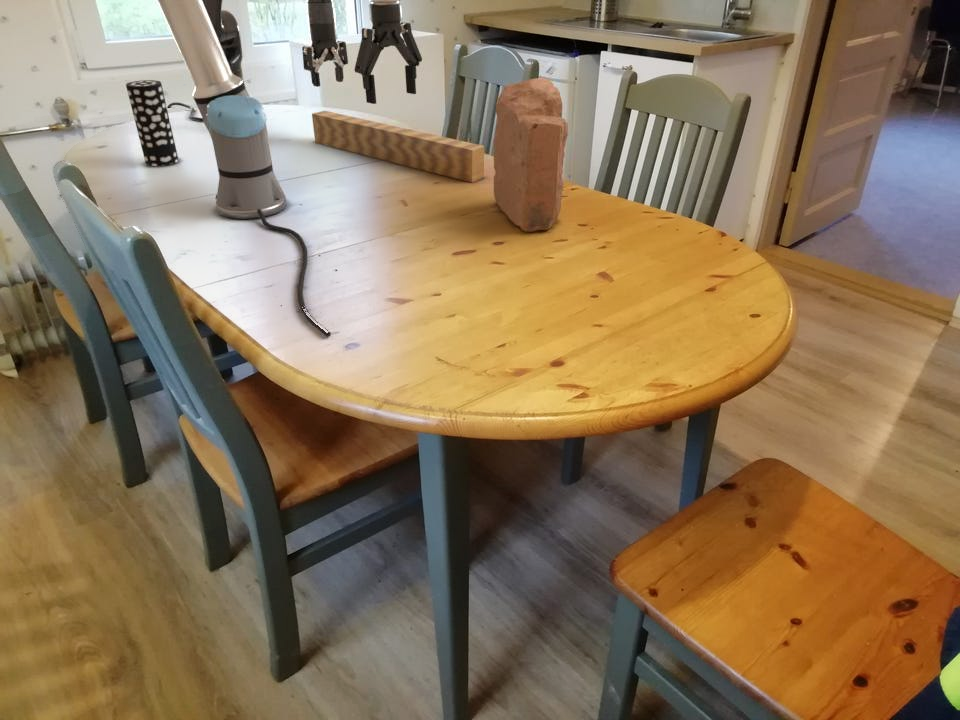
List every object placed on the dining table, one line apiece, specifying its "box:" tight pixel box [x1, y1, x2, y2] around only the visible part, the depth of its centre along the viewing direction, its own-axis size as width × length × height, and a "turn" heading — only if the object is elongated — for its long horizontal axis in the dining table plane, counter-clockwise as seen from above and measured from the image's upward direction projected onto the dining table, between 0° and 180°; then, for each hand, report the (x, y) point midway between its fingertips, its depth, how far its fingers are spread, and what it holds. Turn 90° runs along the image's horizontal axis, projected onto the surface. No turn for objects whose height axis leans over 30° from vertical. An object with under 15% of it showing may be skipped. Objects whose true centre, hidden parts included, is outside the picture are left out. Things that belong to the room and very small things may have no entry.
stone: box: [493, 77, 569, 232], centre depth 148 cm, size 22×11×28 cm, turn 18°
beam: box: [311, 110, 485, 183], centre depth 189 cm, size 59×5×8 cm, turn 53°
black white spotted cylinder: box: [125, 79, 179, 167], centre depth 181 cm, size 8×8×20 cm
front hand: (391, 98), depth 172 cm, fingers open, 13 cm apart
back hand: (328, 83), depth 195 cm, fingers open, 8 cm apart
